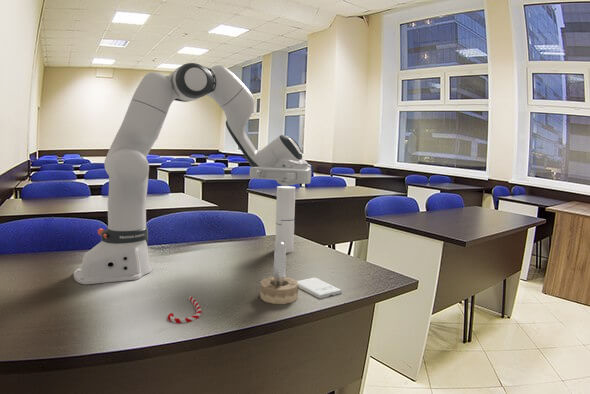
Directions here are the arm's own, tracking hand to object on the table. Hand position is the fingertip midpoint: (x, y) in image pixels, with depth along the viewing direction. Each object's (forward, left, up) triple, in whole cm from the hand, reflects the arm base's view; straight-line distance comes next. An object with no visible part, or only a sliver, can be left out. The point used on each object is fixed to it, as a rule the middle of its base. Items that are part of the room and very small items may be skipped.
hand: (271, 175), depth 130 cm
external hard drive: (+6, -18, -33) cm, 38 cm away
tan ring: (-7, -17, -32) cm, 37 cm away
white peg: (-7, -17, -32) cm, 37 cm away
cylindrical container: (+21, +23, -32) cm, 44 cm away
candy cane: (-32, -13, -33) cm, 48 cm away
